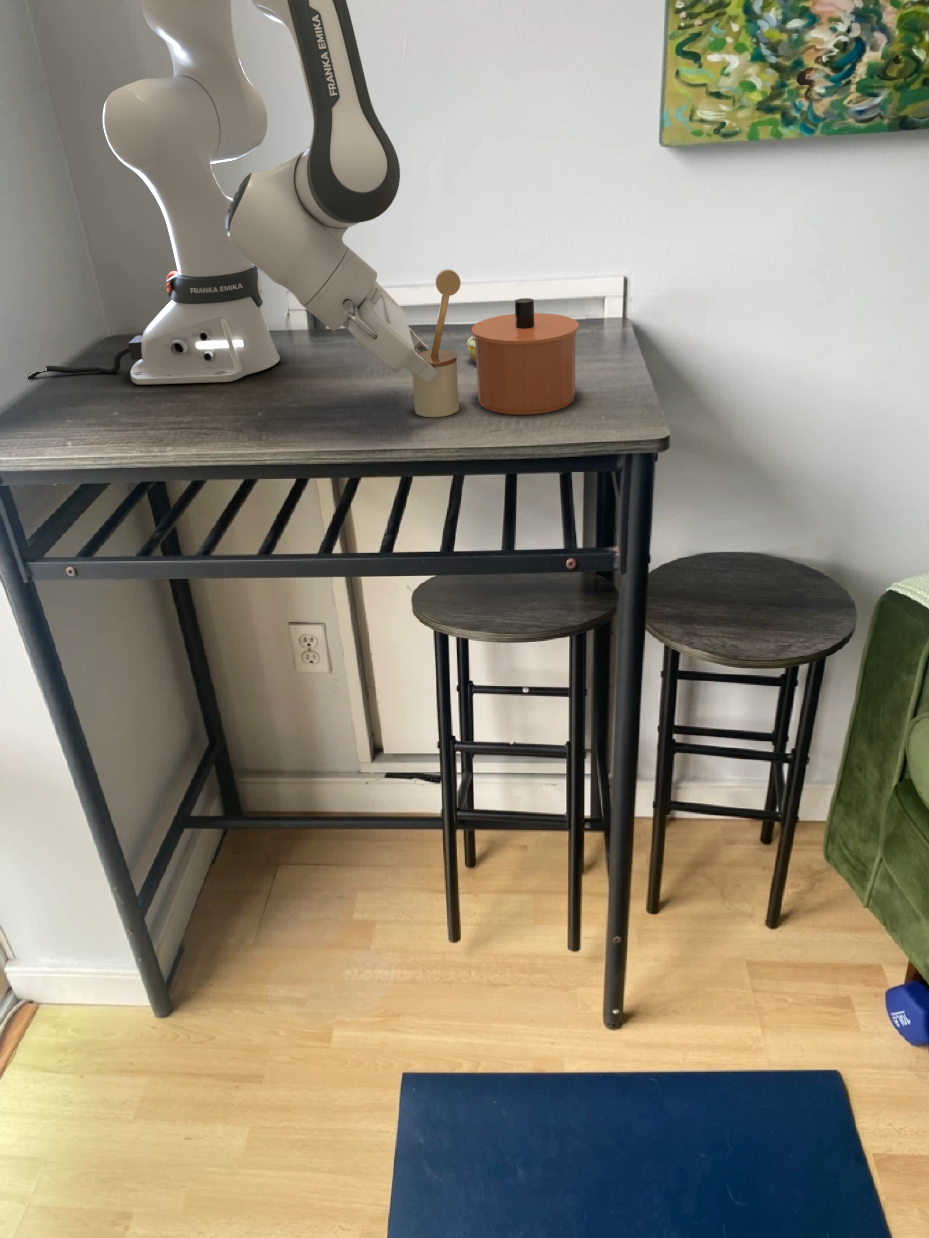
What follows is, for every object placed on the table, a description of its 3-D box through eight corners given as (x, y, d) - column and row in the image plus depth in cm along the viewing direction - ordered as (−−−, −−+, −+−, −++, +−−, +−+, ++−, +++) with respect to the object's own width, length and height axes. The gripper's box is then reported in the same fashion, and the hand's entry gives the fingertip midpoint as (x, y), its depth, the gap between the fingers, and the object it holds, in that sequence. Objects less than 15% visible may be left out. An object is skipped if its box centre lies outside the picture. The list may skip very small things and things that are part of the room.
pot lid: (479, 354, 114) (477, 317, 112) (465, 326, 126) (464, 293, 123) (589, 344, 115) (590, 308, 113) (566, 317, 127) (566, 284, 124)
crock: (416, 419, 120) (404, 278, 111) (412, 404, 125) (401, 269, 116) (470, 414, 121) (462, 273, 112) (464, 400, 126) (456, 264, 117)
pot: (486, 419, 119) (482, 347, 114) (473, 388, 130) (469, 322, 125) (583, 409, 120) (584, 338, 115) (563, 380, 131) (563, 314, 126)
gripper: (363, 291, 105) (455, 370, 110) (358, 256, 122) (438, 327, 128) (327, 335, 106) (420, 411, 112) (328, 294, 124) (408, 362, 130)
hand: (429, 366), depth 120 cm, fingers open, 8 cm apart
